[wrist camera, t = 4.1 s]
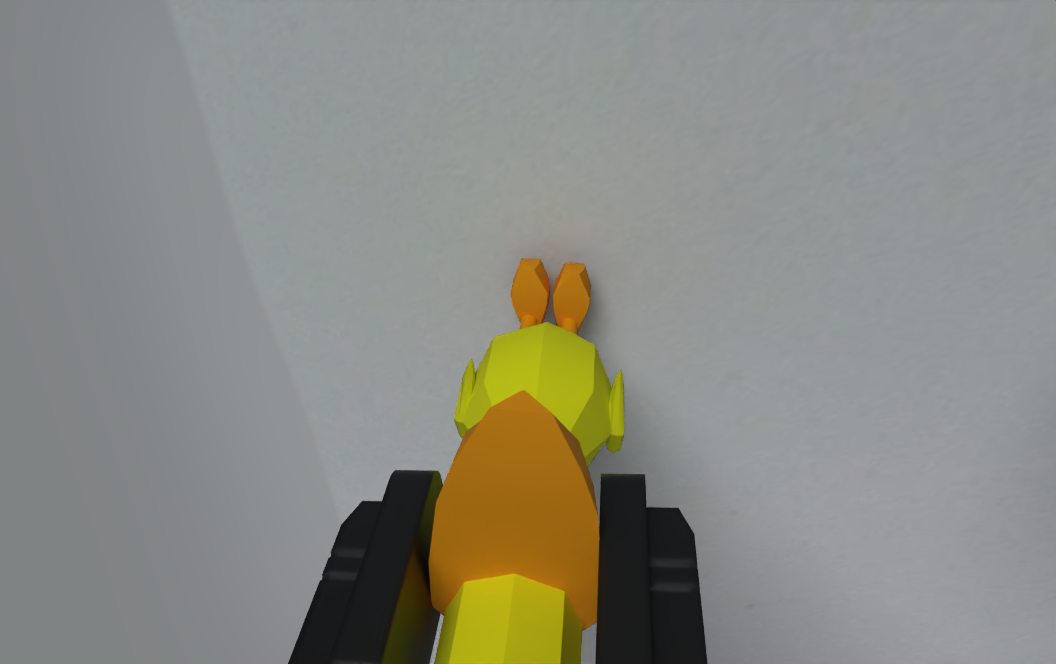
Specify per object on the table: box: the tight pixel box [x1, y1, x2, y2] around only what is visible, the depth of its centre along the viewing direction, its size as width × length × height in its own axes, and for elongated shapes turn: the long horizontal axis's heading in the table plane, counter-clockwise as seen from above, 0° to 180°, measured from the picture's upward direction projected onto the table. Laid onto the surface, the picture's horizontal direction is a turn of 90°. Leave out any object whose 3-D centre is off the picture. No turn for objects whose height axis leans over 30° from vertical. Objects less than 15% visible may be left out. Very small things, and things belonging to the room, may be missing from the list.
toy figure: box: [429, 259, 624, 664], centre depth 14 cm, size 7×4×12 cm, turn 178°
